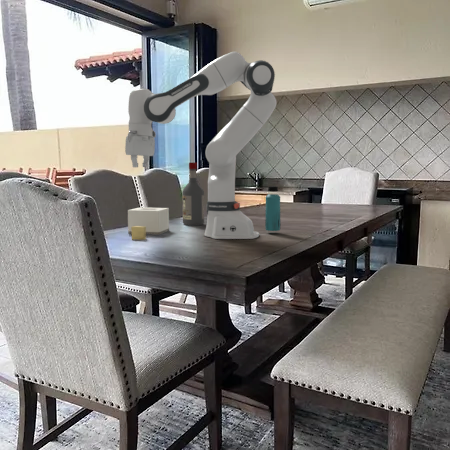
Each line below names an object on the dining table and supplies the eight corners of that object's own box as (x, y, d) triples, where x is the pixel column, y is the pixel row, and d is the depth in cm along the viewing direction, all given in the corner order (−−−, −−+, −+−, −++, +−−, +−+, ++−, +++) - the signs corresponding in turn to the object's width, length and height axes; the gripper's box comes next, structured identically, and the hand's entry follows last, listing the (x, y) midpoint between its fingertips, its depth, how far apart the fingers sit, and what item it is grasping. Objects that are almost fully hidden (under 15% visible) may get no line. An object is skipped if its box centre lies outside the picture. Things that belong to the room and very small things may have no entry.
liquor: (198, 222, 225) (198, 162, 220) (205, 224, 216) (205, 162, 212) (181, 223, 221) (180, 162, 217) (187, 226, 213) (186, 162, 208)
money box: (169, 230, 199) (168, 208, 197) (159, 234, 187) (158, 210, 186) (139, 229, 202) (139, 207, 200) (128, 233, 190) (127, 210, 189)
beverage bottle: (279, 234, 186) (280, 186, 183) (263, 234, 187) (264, 186, 184) (281, 232, 192) (281, 185, 189) (265, 232, 194) (266, 185, 191)
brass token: (146, 238, 177) (145, 226, 176) (143, 239, 175) (143, 227, 174) (134, 238, 178) (133, 226, 177) (131, 239, 176) (131, 226, 175)
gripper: (136, 129, 164) (136, 167, 166) (157, 133, 184) (157, 167, 186) (120, 129, 166) (121, 167, 168) (143, 133, 186) (143, 167, 187)
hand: (140, 167), depth 177 cm, fingers open, 8 cm apart
